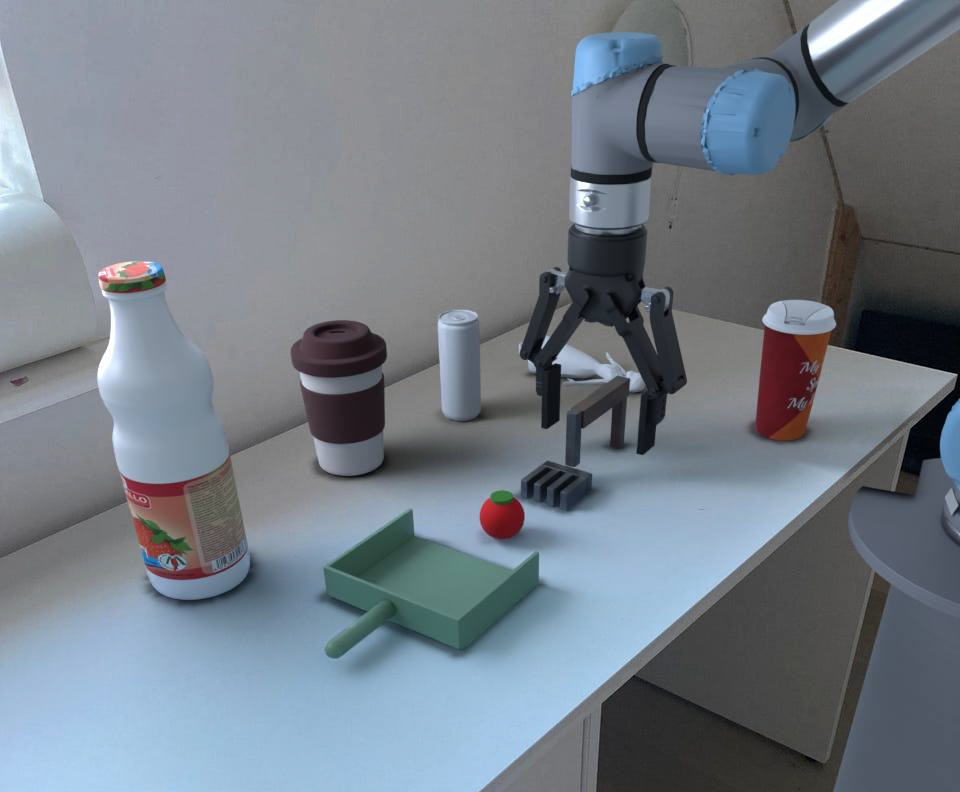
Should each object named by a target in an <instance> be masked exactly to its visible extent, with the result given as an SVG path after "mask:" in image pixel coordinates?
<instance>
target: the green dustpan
mask: <svg viewBox="0 0 960 792" xmlns="http://www.w3.org/2000/svg"><path fill="white" fill-rule="evenodd" d="M322 569H323V576H324V583H325V589H326V590H325V591H326V595H327V596H329V597H331V598H334V599H337V600H338V601H341V602H343V603H346V604H348V605H351V606H353V607H356V608H358V609H361V610H362V611H366V612H365V613H364V614H363V615H361V616H360V617H358V618H357V619H356V620H354V621H353V622H352V623H350V624H349V625H348V626H346V627H345V628H344V629H343V630H341V631H340V632H339V633H337V634H335V636H334V637H332V638H331V639H329V640H328V641H327V642H326V643H325V645H324V652H325V655H326V656H327V657H328V658H330V659H333V660H337V659H340V658H341V657H343V656H344V655H345V654H346V653H348V652H349V651H350V650H352V649H353V648H354V647H356V646H357V645H358V644H359V643H360V642H362V641H363V640H365V638H367V637H368V636H369V635H371V634H372V633H373V632H375V631H376V630H377V629H379V628H380V627H382V625H383V624H385V623H386V622H388V621H389V622H392V623H395V624H396V625H399V626H401V627H404V628H407V629H409V630H411V631H413V632H416V633H418V634H421V635H423V636H425V637H428V638H431V639H433V640H435V641H437V642H440V643H443V644H445V645H448V646H450V647H452V648H455V649H457V650H461V651H463V650H464V649H466V648H467V647H468V646H470V644H471V643H472V642H473V641H475V640H476V639H477V638H478V637H479V636H481V635H482V633H484V632H485V631H486V630H487V629H488V628H489V627H491V625H493V624H494V623H495V622H496V621H497V620H498V619H499V618H501V617H502V616H503V615H504V614H505V613H506V612H508V611H509V610H510V609H511V608H512V607H513V606H515V605H516V604H517V602H519V601H520V600H521V599H522V598H524V596H526V595H527V594H528V593H529V592H530V591H531V590H533V589H534V588H535V587H536V586H537V585H538V584H539V583H540V552H539V551H537V550H536V551H534V552H533V553H532V554H531V555H529V556H527V558H526V559H524V560H523V561H522V562H521V563H520V564H519V565H517V566H516V567H515V568H514V569H512V570H511V569H508V568H506V567H503V566H500V565H497V564H495V563H492V562H489V561H487V560H483V559H481V558H478V557H475V556H473V555H470V554H467V553H463V552H461V551H458V550H455V549H453V548H450V547H447V546H444V545H441V544H439V543H436V542H434V541H430V540H427V539H425V538H421V537H419V536H416V535H415V523H414V509H413V508H411V507H409V508H407V509H406V510H405V511H404V512H402V513H400V514H399V515H397V516H396V517H394V518H393V519H392V520H390V521H388V522H387V523H385V524H384V525H383V526H381V527H379V528H378V529H377V530H375V531H374V532H372V533H371V534H369V535H368V536H367V537H365V538H364V539H362V540H361V541H359V542H358V543H356V544H354V545H353V546H352V547H350V548H349V549H347V550H346V551H344V552H343V553H341V554H340V555H338V556H337V557H335V559H333V560H331V561H330V562H328V563H327V564H326V565H324V566H323V567H322Z"/></svg>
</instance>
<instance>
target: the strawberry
mask: <svg viewBox="0 0 960 792" xmlns="http://www.w3.org/2000/svg"><path fill="white" fill-rule="evenodd" d="M478 518H479V523H480V526H481V529H482V530H483V531H484V532H485V534H487V535H488V536H489V537H491V538H492V539H496V540H509V539H511V538H513V537H515V536H517V535H518V534H519V532H520V531H522V529H523V526H524V524H525V518H526V515H525V510H524V507H523V505H522V502H520V501H519V499H517V498H516V497H515V496H514V494H513V493H512V492H511V491H509V490H504V489H503V490H501V489H499V490H496V491H493V492H492V493H491V494H490V496H489V497H488V498H487V499H486V500H485V501H484V502H483V504H482V505H481V507H480V509H479V517H478Z"/></svg>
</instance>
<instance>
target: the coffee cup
mask: <svg viewBox="0 0 960 792" xmlns="http://www.w3.org/2000/svg"><path fill="white" fill-rule="evenodd" d="M387 350H388V347H387V342H386V340H385V338H383V337H382V336H380V335H379V334H376V333H374V332H372V331H371V329H370V327H369V326H368V325H367V324H366V323H363V322H361V321H356V320H350V319H349V320H348V319H336V320H329V321H328V320H327V321H323V322H318V323H315V324H313V325H311V326H309V327H307V329H305V331H304V332H303V335H302V337H301V338H300V339H298V340H296V341H295V342H294V343H293V344H292V345H291V347H290V352H289V353H290V360H291V365H292V366H293V368H294V369H295V370H296V371H298V372H299V376H300V380H299V387H300V392H301V396H302V401H303V406H304V409H305V413H306V418H307V424H308V427H309V431H310V434H311V436H312V438H313V442H314V447H315V452H316V456H317V461H318V464H319V466H320V468H321V469H322V470H324V472H326V473H329V474H330V475H333V476H341V477H354V476H361V475H365V474H367V473H371V472H372V471H374V470H376V469H377V468H379V467H380V466H381V465H382V463H383V461H384V459H385V458H384V457H385V448H384V447H385V445H384V429H385V426H386V404H385V403H386V400H385V395H386V394H385V375H384V373H383V364H385V363H386V361H387V359H388V351H387Z"/></svg>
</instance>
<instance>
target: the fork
mask: <svg viewBox="0 0 960 792" xmlns="http://www.w3.org/2000/svg"><path fill="white" fill-rule="evenodd" d="M629 388H630V378H626V377H622V376H616V377H615V378H613V379H612V380H610V381H609V382H607V383H606V384H604V385H601V386H600V387H598V388H597V389H596V390H594V391H593V392H591V393H590V394H588V395H587V396H585V397H584V398H583V399H581V400H580V401H579V402H577V403H576V404H574V405H572V406H571V407H570V410H568V411H567V412H566V422H565V423H566V424H565V453H564V454H565V455H564V457H565V459H564V464H561V463H558V462H554V461H550V460H546V461H544V462H543V463H541V464H540V465H539V466H538V467H536V468H534V470H532V471H531V472H529V473H528V474H527V475H525V476H524V477H522V479H521V478H520V497H521V498H524V499H528V498H530V497H531V496H532V495H533V501H534V502H537V503H541V502H542V501H544V500H545V499H546V505H547V506H550V507H552V508H554V507H555V506H557V504H559V503H560V504H559V509H560V510H563V511H568V510H569V509H570V508H572V507H573V506H574V505H575V504H577V503H578V502H579V501H580V500H582V498H584V497H585V496H587V495H588V494H589V493H591V492H592V490H593V489H592V488H593V473H592V472H588V471H585V470H582V469H578V468H576V467H578V466H579V465H580V464H581V450H582V449H581V448H582V447H581V446H582V429H585V428H586V427H588V426H590V425H591V424H592V423H594V422H595V421H596V420H598V419H599V418H601V417H602V416H603V415H604V414H606V413H608V412H609V411H610V410H611V420H610V422H611V423H610V436H609V437H610V438H609V447H610V448H614V449H620V448H622V447H623V446H624V445H625V435H626V419H627V418H626V417H627V408H628V407H627V406H628V397H629V396H630V392H629Z"/></svg>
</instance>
